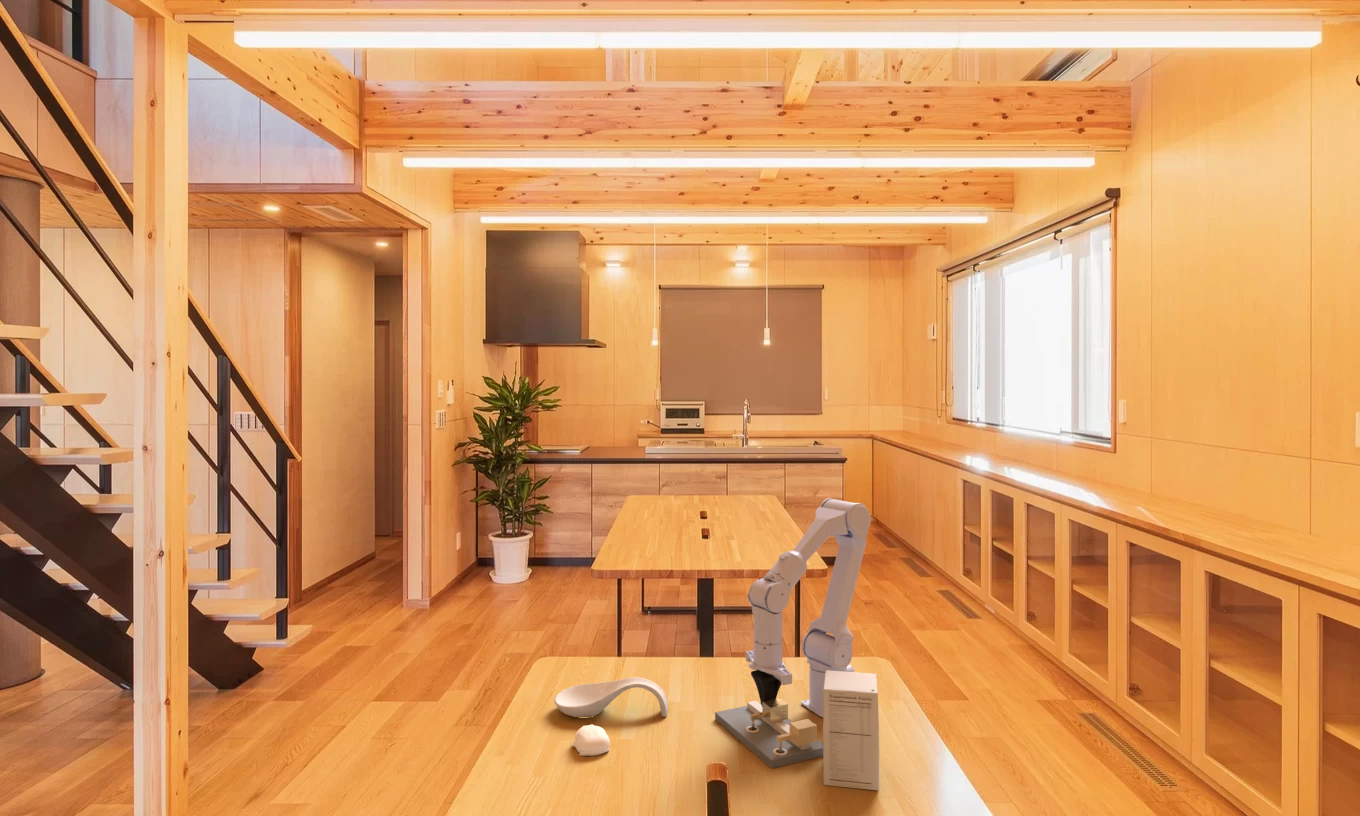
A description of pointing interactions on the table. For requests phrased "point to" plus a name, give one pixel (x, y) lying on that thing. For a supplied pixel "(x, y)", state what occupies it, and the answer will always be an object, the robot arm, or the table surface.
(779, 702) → the sliding trammel head
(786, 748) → the plate
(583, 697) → the spoon rest
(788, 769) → the table surface
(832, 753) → the supplement box
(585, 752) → the white rounded lump
